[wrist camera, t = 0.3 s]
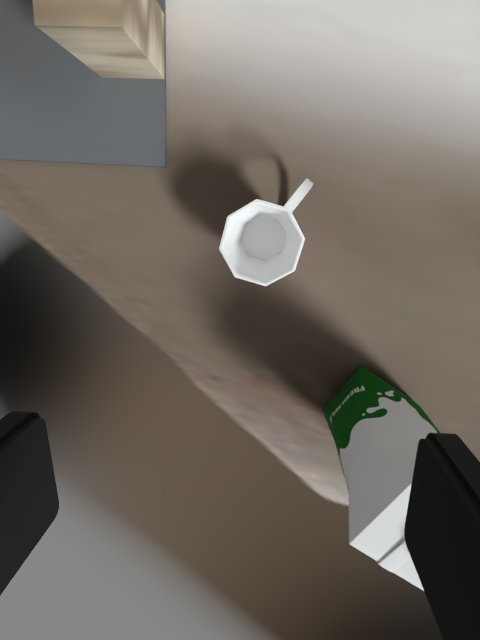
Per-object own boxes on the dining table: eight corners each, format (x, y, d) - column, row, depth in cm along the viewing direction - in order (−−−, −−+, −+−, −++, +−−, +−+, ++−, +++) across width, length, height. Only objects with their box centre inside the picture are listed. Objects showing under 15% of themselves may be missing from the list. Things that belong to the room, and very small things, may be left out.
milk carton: (373, 451, 43) (451, 640, 24) (310, 411, 43) (339, 573, 23) (424, 397, 41) (556, 560, 22) (358, 353, 40) (435, 482, 21)
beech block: (98, 11, 33) (25, -72, 23) (164, 12, 32) (118, -72, 23) (101, 77, 34) (34, 25, 25) (164, 79, 34) (121, 26, 24)
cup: (216, 243, 38) (201, 251, 30) (278, 160, 35) (279, 145, 28) (268, 285, 39) (267, 303, 31) (333, 206, 36) (349, 205, 28)
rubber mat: (-39, -90, 32) (-43, -94, 32) (164, -91, 31) (163, -95, 30) (-7, 159, 38) (-9, 158, 37) (166, 167, 36) (164, 166, 36)
